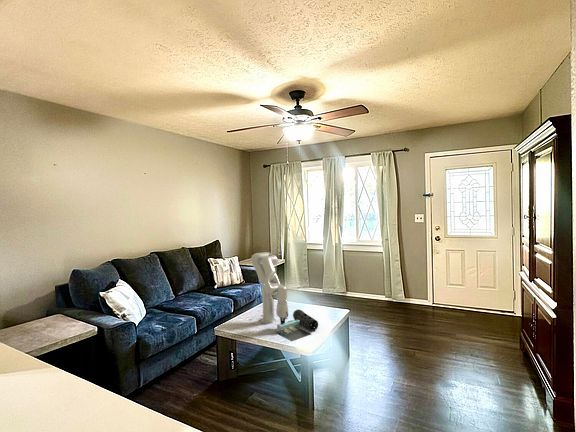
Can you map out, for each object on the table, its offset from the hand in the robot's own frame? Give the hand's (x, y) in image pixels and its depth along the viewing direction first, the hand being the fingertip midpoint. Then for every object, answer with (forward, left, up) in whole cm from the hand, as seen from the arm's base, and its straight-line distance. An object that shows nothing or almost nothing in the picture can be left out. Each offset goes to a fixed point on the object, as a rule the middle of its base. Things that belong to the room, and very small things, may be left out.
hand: (282, 325), depth 247 cm
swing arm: (+5, +1, -2) cm, 6 cm away
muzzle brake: (+6, +18, -4) cm, 19 cm away
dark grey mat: (+12, 0, -3) cm, 13 cm away
